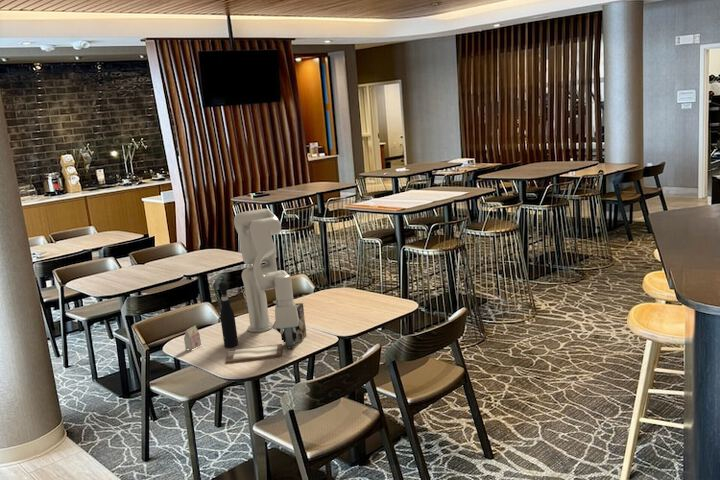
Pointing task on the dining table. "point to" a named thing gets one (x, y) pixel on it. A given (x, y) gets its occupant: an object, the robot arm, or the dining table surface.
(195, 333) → the red and white box
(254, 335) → the dining table surface
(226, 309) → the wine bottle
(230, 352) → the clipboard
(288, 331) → the marker
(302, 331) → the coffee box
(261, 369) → the dining table surface
